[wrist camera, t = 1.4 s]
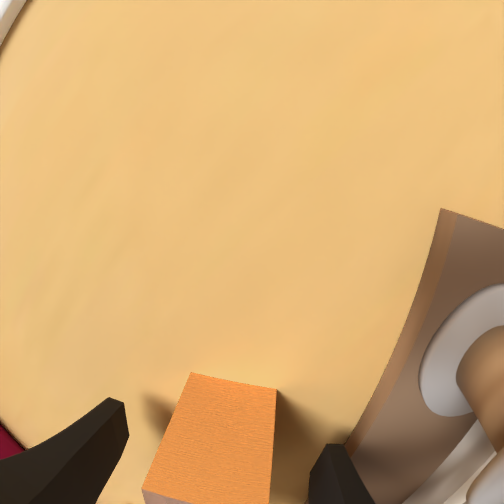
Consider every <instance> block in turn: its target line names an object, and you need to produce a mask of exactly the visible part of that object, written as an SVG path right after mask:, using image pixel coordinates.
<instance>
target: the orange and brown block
mask: <svg viewBox="0 0 504 504" xmlns="http://www.w3.org/2000/svg"><path fill="white" fill-rule="evenodd" d="M276 391H277V389H272V388H266V387H260V386H254V385H249V384H243V383H238V382H233V381H228V380H223V379H218V378H214V377H209V376H205V375H200V374H196V373H192V372H191V373H190V375H189V378H188V380H187V382H186V385H185V387H184V389H183V392H182V394H181V396H180V399H179V401H178V403H177V406H176V408H175V410H174V413H173V415H172V418H171V420H170V422H169V425H168V427H167V429H166V432H165V434H164V436H163V439H162V441H161V443H160V446H159V448H158V451H157V453H156V455H155V458H154V460H153V462H152V465H151V467H150V469H149V472H148V474H147V477H146V479H145V481H144V484H143V486H142V493H143V496H144V500H145V503H146V504H269V493H270V481H271V468H272V455H273V440H274V425H275V409H276Z"/></svg>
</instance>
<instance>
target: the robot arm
mask: <svg viewBox="0 0 504 504" xmlns="http://www.w3.org/2000/svg"><path fill="white" fill-rule="evenodd" d="M128 438H129V431H128V426H127V420H126V414H125V407H124V403H123V402H121V401H118V400H115V399H112V398H110V397H109V398H107V399H105V400H104V401H103V402H101V403H100V404H99V405H98V406H96V407H95V408H94V409H92V410H91V411H90V412H88V413H87V414H86V415H84V416H83V417H82V418H80V419H79V420H77V421H76V422H75V423H73V424H72V425H70V426H69V427H67V428H66V429H64V430H63V431H61V432H59V433H58V434H56V435H54V436H53V437H51V438H49V439H48V440H46V441H44V442H42V443H40V444H39V445H37V446H34V447H32V448H30V449H28V450H26V451H23V452H21V453H18V454H16V455H13V456H10V457H7V458H4V459H1V460H0V504H95V503H96V501H97V499H98V497H99V495H100V494H101V492H102V490H103V488H104V486H105V485H106V483H107V481H108V479H109V478H110V476H111V474H112V472H113V471H114V469H115V467H116V465H117V463H118V462H119V460H120V458H121V456H122V453H123V451H124V448H125V446H126V443H127V440H128ZM308 499H309V504H376V503H375V502H374V500H373V498H372V497H371V495H370V494H369V492H368V490H367V488H366V487H365V485H364V483H363V481H362V480H361V478H360V476H359V474H358V472H357V470H356V468H355V466H354V464H353V462H352V460H351V458H350V456H349V454H348V452H347V450H346V448H345V446H344V445H343V444H326V446H325V448H324V450H323V451H322V453H321V455H320V457H319V458H318V460H317V462H316V463H315V465H314V467H313V468H312V470H311V472H310V479H309V494H308Z"/></svg>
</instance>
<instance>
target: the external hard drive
mask: <svg viewBox="0 0 504 504" xmlns="http://www.w3.org/2000/svg"><path fill="white" fill-rule="evenodd" d="M26 1H27V0H0V46H1V44H2V42H3V40H4V38H5V36H6V35H7V33H8V31H9V29H10V27H11V26H12V24H13V22H14V20H15V19H16V17H17V15H18V14H19V12H20V10H21V9H22V7H23V5H24V4H25V2H26Z"/></svg>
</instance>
